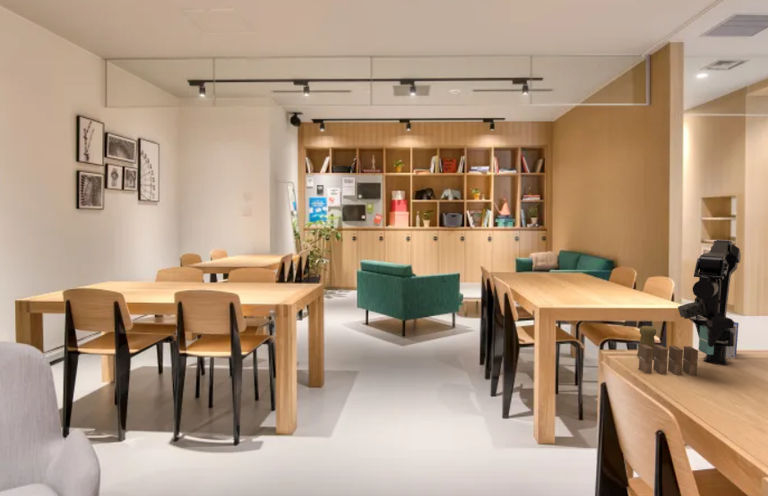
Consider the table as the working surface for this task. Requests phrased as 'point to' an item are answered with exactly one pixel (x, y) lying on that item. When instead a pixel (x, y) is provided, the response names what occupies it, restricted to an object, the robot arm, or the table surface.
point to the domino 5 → (704, 342)
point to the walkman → (733, 349)
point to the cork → (647, 338)
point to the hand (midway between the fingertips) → (706, 344)
